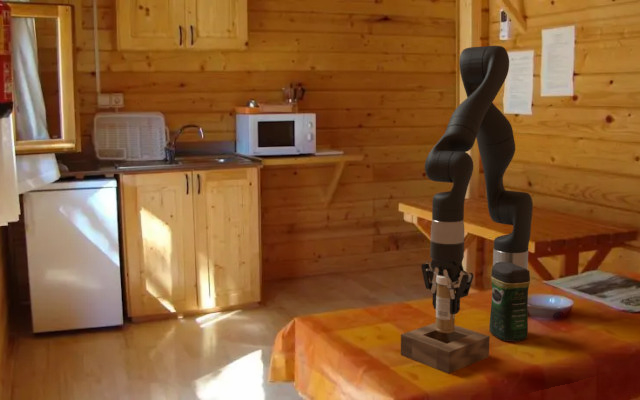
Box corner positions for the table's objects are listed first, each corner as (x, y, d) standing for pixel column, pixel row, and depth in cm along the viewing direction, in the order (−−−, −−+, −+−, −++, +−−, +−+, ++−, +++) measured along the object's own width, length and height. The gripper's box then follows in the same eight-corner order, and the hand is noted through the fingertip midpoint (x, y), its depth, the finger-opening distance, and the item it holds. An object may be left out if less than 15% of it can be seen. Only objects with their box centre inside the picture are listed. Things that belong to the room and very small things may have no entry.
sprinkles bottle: (458, 330, 168) (460, 274, 166) (446, 335, 165) (448, 278, 163) (442, 325, 172) (444, 270, 169) (430, 330, 169) (432, 274, 166)
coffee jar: (533, 340, 179) (536, 267, 175) (504, 344, 176) (507, 270, 173) (511, 327, 188) (514, 257, 184) (484, 331, 185) (486, 260, 182)
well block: (441, 339, 180) (441, 320, 179) (488, 356, 169) (489, 336, 168) (400, 354, 170) (400, 334, 169) (448, 373, 160) (449, 352, 159)
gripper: (483, 241, 162) (480, 315, 165) (434, 231, 172) (432, 300, 175) (461, 246, 157) (459, 322, 160) (412, 236, 168) (411, 307, 171)
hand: (445, 310), depth 168 cm, fingers closed on sprinkles bottle, 4 cm apart
